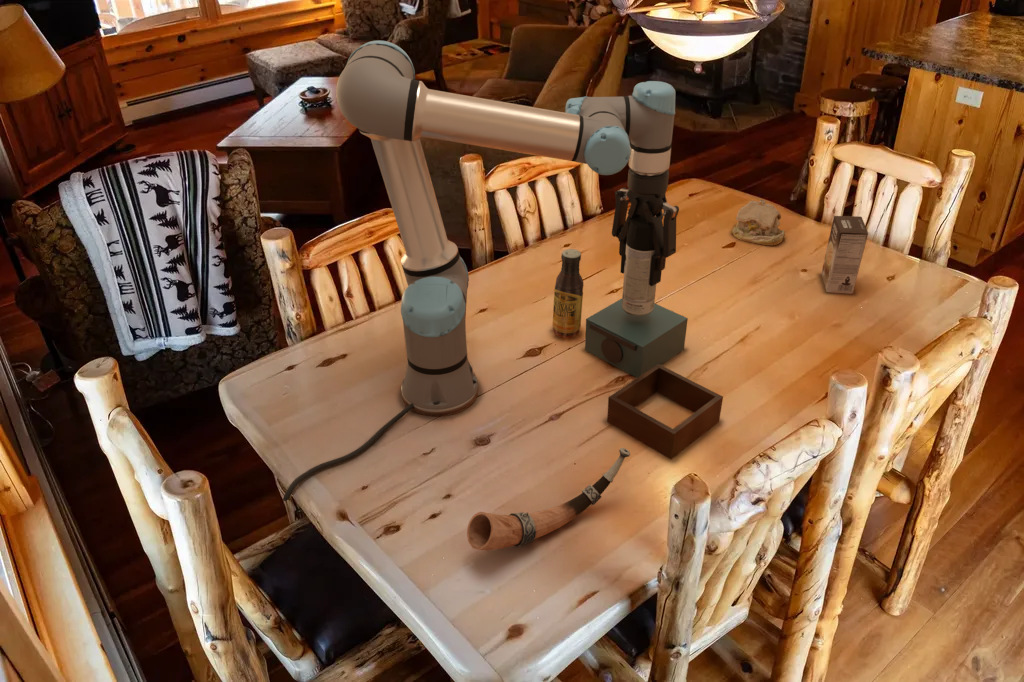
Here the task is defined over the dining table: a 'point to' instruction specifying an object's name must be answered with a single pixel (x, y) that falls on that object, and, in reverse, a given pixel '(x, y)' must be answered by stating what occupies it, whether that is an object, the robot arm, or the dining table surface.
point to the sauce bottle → (568, 296)
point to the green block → (635, 337)
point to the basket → (655, 431)
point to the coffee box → (844, 254)
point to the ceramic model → (758, 224)
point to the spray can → (638, 268)
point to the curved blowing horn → (535, 517)
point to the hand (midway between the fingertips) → (640, 276)
